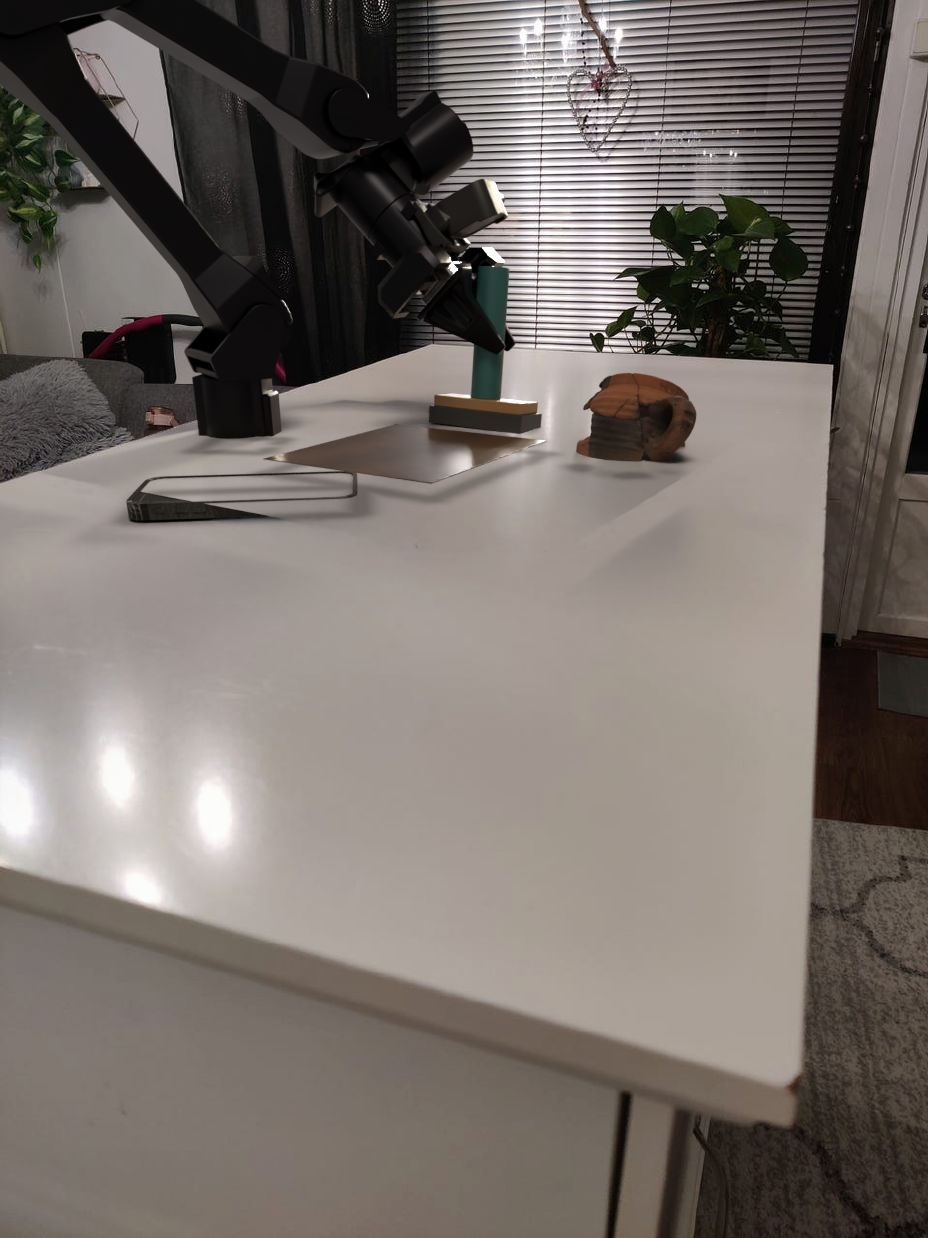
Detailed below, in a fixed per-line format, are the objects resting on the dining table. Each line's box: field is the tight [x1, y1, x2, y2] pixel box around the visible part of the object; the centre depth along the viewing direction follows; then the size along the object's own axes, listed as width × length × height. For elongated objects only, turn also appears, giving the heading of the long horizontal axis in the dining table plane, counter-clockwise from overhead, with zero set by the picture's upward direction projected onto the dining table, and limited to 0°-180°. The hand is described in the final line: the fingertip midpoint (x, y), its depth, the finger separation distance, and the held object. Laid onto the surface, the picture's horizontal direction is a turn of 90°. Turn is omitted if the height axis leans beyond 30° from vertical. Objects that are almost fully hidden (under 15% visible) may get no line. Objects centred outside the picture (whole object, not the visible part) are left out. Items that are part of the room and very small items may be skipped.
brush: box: [428, 266, 543, 435], centre depth 80 cm, size 10×4×14 cm, turn 58°
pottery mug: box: [575, 372, 697, 463], centre depth 71 cm, size 12×10×8 cm
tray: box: [263, 423, 547, 485], centre depth 73 cm, size 16×18×1 cm
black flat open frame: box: [125, 470, 358, 521], centre depth 61 cm, size 8×1×15 cm
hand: (506, 349), depth 80 cm, fingers closed on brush, 3 cm apart
